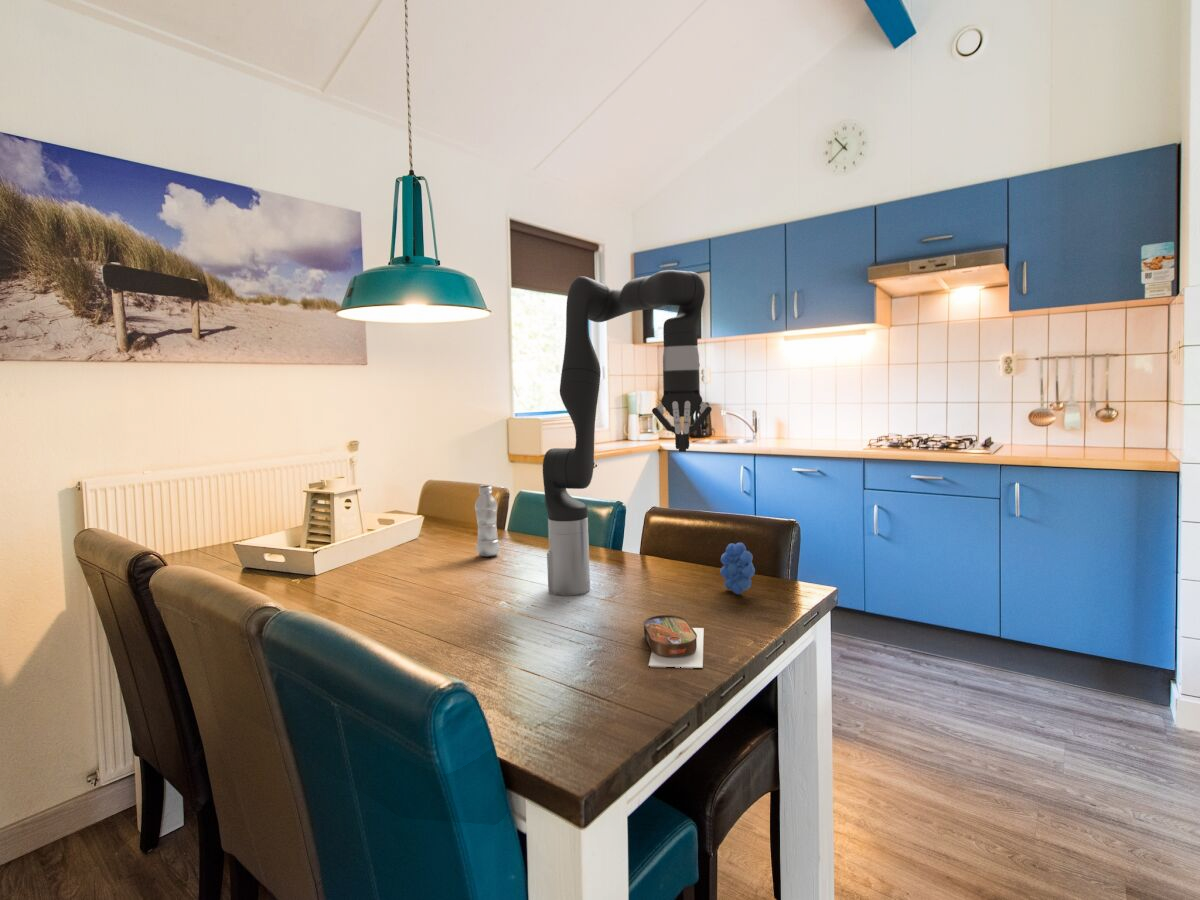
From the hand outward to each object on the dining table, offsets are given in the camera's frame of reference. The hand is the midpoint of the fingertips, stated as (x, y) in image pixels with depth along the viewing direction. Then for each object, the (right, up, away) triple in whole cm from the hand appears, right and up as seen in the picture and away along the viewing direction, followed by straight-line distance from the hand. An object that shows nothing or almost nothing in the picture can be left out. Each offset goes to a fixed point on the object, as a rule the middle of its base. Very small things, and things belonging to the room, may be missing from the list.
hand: (682, 451), depth 142 cm
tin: (-9, -34, -19) cm, 40 cm away
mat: (-3, -35, -20) cm, 41 cm away
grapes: (+14, -32, +9) cm, 36 cm away
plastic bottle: (-49, -30, +50) cm, 76 cm away
